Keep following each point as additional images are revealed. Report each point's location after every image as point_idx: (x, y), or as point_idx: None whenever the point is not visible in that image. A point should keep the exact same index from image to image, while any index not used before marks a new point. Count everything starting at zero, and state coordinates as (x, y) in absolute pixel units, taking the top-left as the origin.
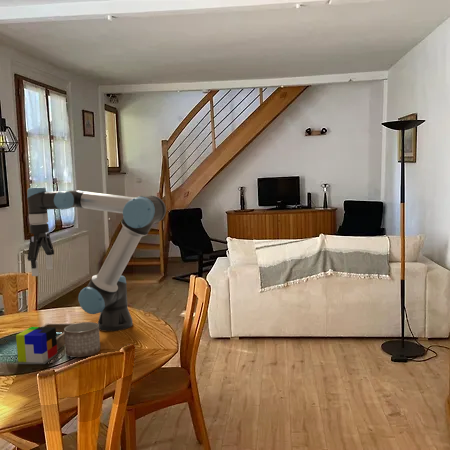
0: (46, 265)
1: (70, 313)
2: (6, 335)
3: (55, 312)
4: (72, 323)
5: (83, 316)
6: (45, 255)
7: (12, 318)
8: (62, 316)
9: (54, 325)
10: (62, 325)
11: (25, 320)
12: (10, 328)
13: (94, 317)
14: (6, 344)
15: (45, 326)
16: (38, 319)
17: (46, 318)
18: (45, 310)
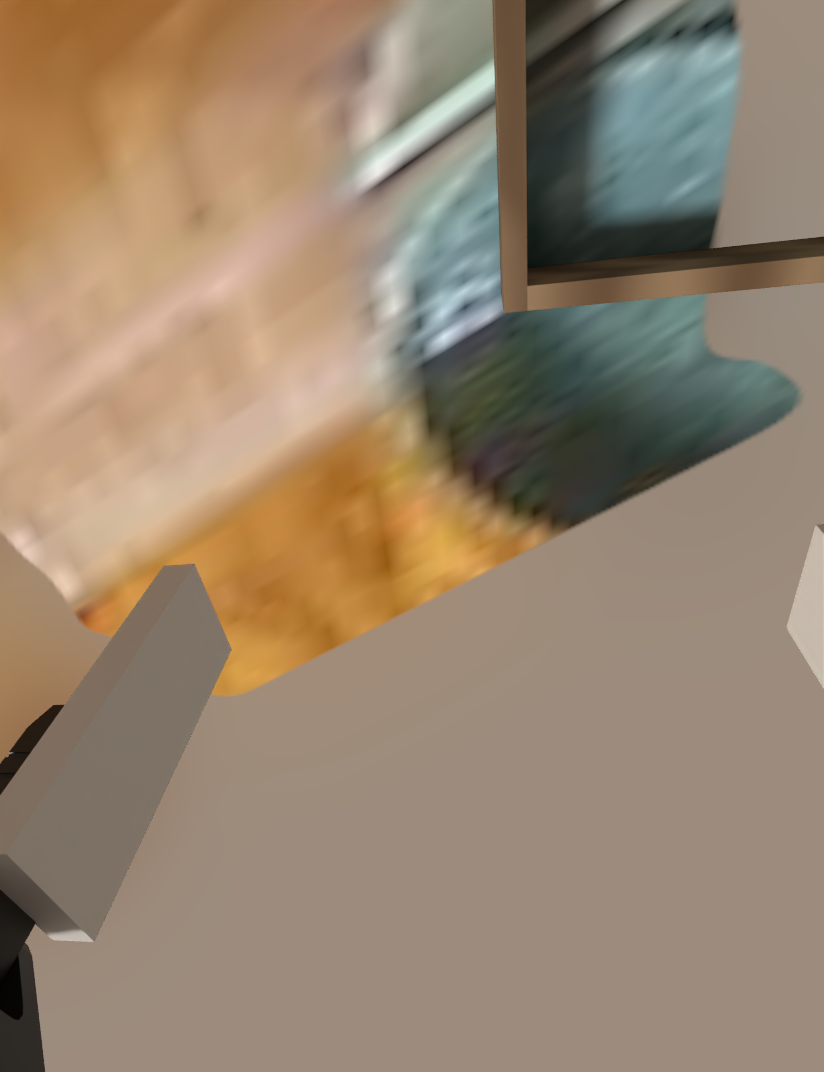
0: (197, 706)
1: (37, 388)
2: (538, 535)
3: (67, 498)
4: (496, 11)
5: (49, 236)
6: (93, 934)
7: (251, 653)
8: (117, 407)
9: (525, 216)
10: (524, 126)
11: (263, 579)
12: (412, 579)
13: (26, 102)
14: (718, 443)
15: (564, 281)
16: (225, 522)
17: (192, 487)
18: (63, 573)
